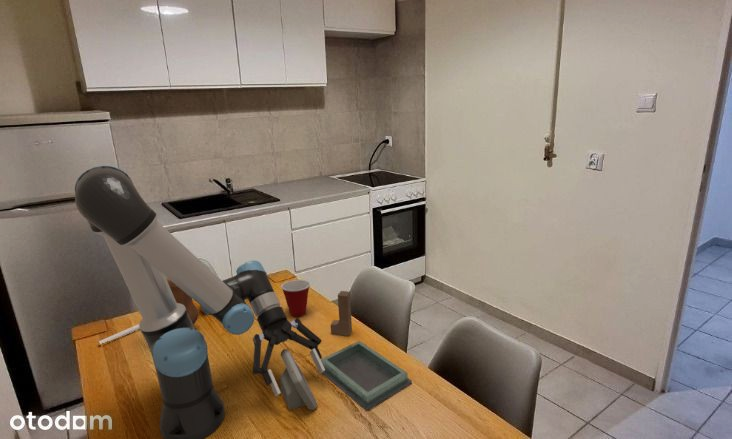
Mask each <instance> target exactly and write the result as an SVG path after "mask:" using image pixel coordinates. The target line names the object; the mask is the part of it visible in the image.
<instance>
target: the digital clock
mask: <svg viewBox="0 0 732 439" xmlns="http://www.w3.org/2000/svg"><path fill="white" fill-rule="evenodd" d="M279 354H280V357H281V359H282V362H283V364H284V366H285V369H284V371H283V373H282V374H280V377H279V383H280V391H281V393H282V395H283V398H284V399H285V400H284V401H285V404H286V405H287V407H288V410H290V411H291V410H294V409H297V408H299V407H303V406H306V407H307V409H308V410H311V411H314V410H316V408H317V406H318V402H317V400H316V398H315V396H314V394H313V392H312V389H311V387H310V386H309V384H308V382H307V380H306V377H305V375H304V374H303V372H302V369H300V366H299V365H298V363H297V362H296V360H295V358H294V357H293V355H292V354H291V351H290V350H289V349H287V348H284V349H282V350H281V351H280V353H279Z"/></svg>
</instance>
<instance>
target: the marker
mask: <svg viewBox="0 0 732 439" xmlns="http://www.w3.org/2000/svg"><path fill="white" fill-rule="evenodd" d="M139 324H140V323H138V324H136V325H133V326H131V327H128V328H126V329H124V330H122V331H119V332H117V333H115V334H112V335H110V336H108V337H105V338H103V339H101V340H98V342H99V343H100V344H102V343H105V342H107V341H111V340H113V339H116V338H118V337H121V336H124V335H127V334H129V333H132V332H134V331H136V330H138V331H140V330H139V329H140V327H139ZM136 332H137V331H136ZM134 333H135V332H134ZM132 334H133V333H132ZM129 335H130V334H129ZM127 336H128V335H127Z"/></svg>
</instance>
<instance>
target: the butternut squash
mask: <svg viewBox="0 0 732 439" xmlns="http://www.w3.org/2000/svg"><path fill="white" fill-rule="evenodd" d="M165 277H166V276H165ZM166 280H167V282H168V284H169V287H170V289H171V291H172V293H173V296H174V298H175V300H176V303H180V304H183V305H184V306H185V308H186V310H187V312H188V315H189V317H190V319H191V321H192V323H193V326H195V324H196V322H197V321H198V316H199V314H198V313H199V311H198V308H197V306H196V304H195V303H194V302H193V301H194V300H193V299H192V298H191V297H190V296H189V295H188V294H186V293H185V292H184V291H183V290H182V289H180V288H179V287H178V286H177V285H176V284H174V283H173V282H172V281H171V280H170V279H168V278H167V277H166Z"/></svg>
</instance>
